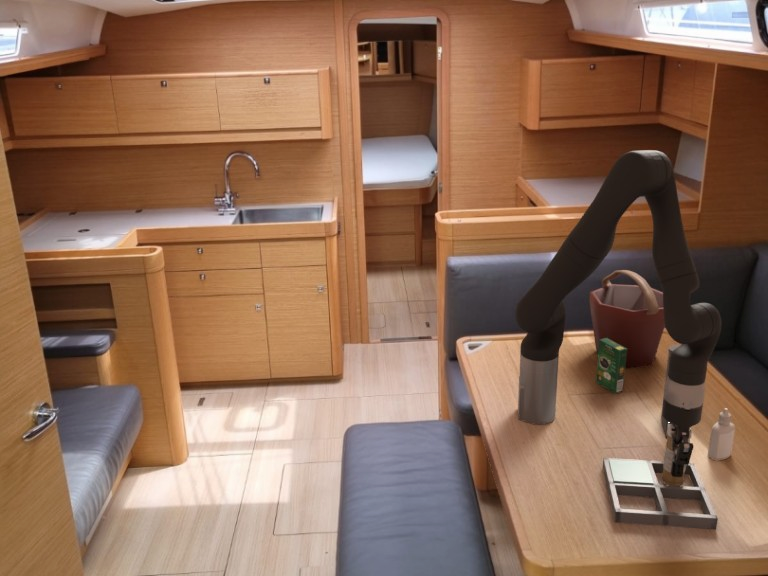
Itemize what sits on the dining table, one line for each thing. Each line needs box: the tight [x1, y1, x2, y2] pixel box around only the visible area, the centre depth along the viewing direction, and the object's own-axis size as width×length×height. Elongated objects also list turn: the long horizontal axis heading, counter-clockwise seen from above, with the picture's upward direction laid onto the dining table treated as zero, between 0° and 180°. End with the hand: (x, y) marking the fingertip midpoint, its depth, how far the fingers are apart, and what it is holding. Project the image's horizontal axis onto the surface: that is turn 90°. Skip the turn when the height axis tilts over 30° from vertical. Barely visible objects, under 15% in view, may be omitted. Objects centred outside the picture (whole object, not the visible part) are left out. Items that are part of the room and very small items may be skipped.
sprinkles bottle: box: [661, 424, 692, 486], centre depth 152 cm, size 5×5×13 cm
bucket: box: [589, 269, 666, 370], centre depth 210 cm, size 24×22×25 cm
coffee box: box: [595, 338, 627, 395], centre depth 194 cm, size 8×3×13 cm, turn 26°
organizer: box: [602, 457, 719, 530], centre depth 151 cm, size 19×19×3 cm
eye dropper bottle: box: [707, 407, 736, 461], centre depth 162 cm, size 4×6×12 cm
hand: (674, 468), depth 153 cm, fingers closed on sprinkles bottle, 4 cm apart
